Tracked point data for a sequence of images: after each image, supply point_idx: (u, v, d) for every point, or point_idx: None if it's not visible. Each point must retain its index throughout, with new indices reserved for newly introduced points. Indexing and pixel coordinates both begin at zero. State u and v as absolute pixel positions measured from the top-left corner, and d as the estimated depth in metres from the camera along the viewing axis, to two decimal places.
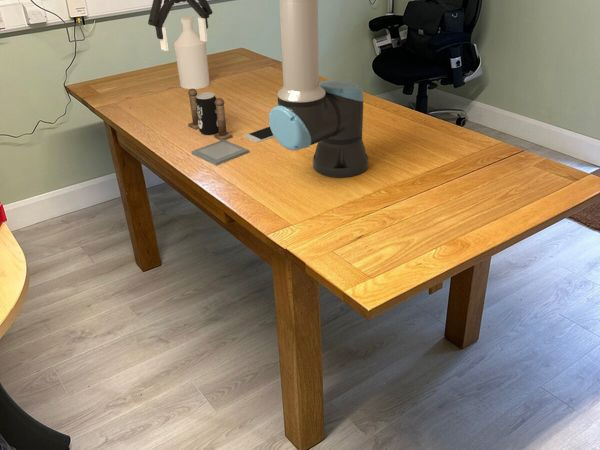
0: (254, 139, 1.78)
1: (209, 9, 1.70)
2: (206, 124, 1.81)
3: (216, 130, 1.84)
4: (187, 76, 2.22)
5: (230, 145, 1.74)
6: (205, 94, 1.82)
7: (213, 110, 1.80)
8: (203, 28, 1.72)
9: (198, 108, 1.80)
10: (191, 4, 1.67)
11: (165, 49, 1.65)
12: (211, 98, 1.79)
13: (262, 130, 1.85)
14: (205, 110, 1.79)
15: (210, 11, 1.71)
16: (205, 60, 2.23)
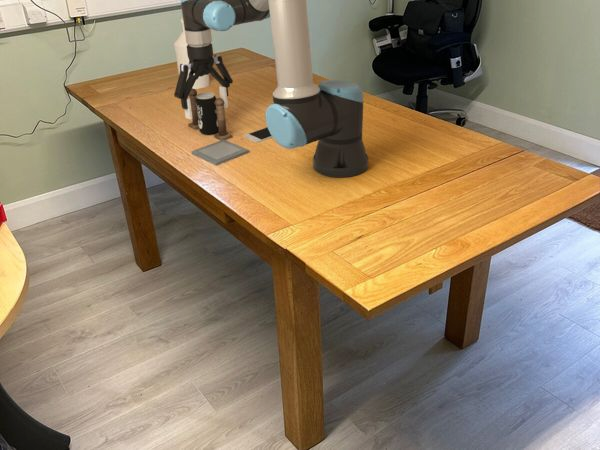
0: (254, 139, 1.78)
1: (229, 79, 1.83)
2: (206, 124, 1.81)
3: (216, 130, 1.84)
4: None
5: (230, 145, 1.74)
6: (205, 94, 1.82)
7: (213, 110, 1.80)
8: (224, 96, 1.84)
9: (198, 108, 1.80)
10: (213, 75, 1.80)
11: (189, 118, 1.78)
12: (211, 98, 1.79)
13: (262, 130, 1.84)
14: (205, 110, 1.79)
15: (230, 80, 1.84)
16: None
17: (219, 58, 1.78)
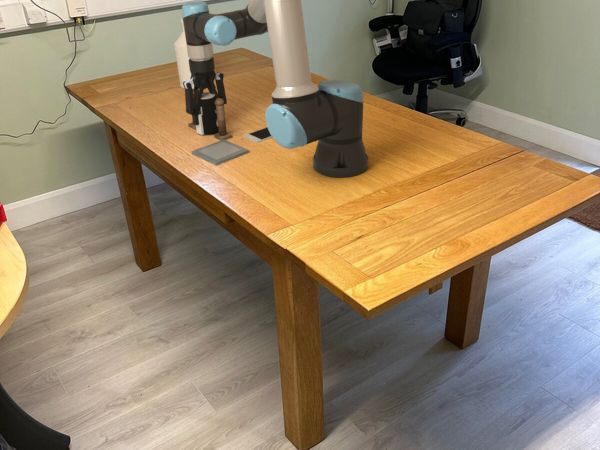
0: (254, 139, 1.78)
1: (224, 99, 1.84)
2: (206, 124, 1.81)
3: (216, 130, 1.84)
4: (187, 76, 2.22)
5: (230, 145, 1.74)
6: (205, 94, 1.82)
7: (213, 110, 1.80)
8: None
9: None
10: (211, 92, 1.81)
11: (200, 133, 1.83)
12: (211, 98, 1.79)
13: (262, 130, 1.84)
14: (205, 110, 1.79)
15: (225, 101, 1.85)
16: None
17: (221, 75, 1.80)
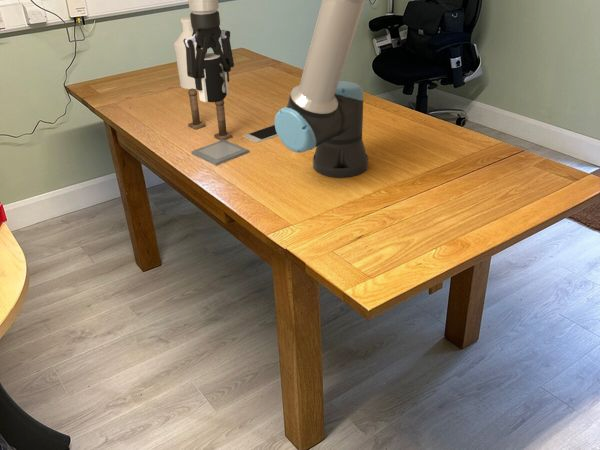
0: (254, 139, 1.78)
1: (231, 62, 1.61)
2: (210, 89, 1.58)
3: (222, 96, 1.61)
4: (187, 76, 2.22)
5: (230, 145, 1.74)
6: (209, 55, 1.59)
7: (219, 72, 1.57)
8: None
9: None
10: (216, 53, 1.58)
11: (204, 100, 1.60)
12: (216, 59, 1.56)
13: (262, 130, 1.84)
14: (210, 73, 1.56)
15: (232, 64, 1.62)
16: None
17: (227, 33, 1.57)
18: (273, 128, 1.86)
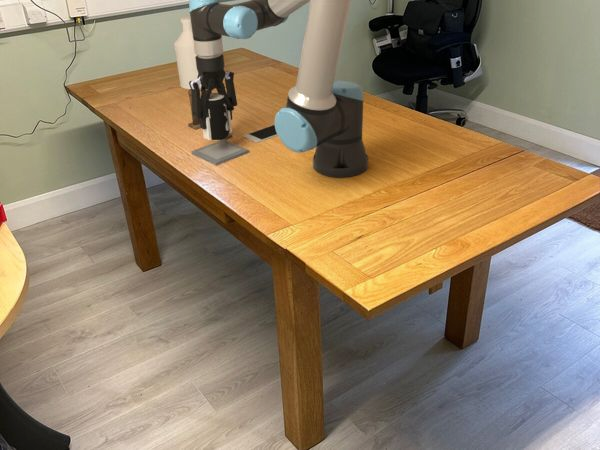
0: (254, 139, 1.78)
1: (235, 101, 1.67)
2: (214, 128, 1.64)
3: (225, 135, 1.66)
4: (187, 76, 2.22)
5: (230, 145, 1.74)
6: (213, 95, 1.64)
7: (222, 112, 1.63)
8: None
9: None
10: (220, 93, 1.64)
11: (208, 138, 1.65)
12: (220, 99, 1.61)
13: (262, 130, 1.84)
14: (214, 113, 1.62)
15: (235, 103, 1.67)
16: None
17: (231, 74, 1.63)
18: (273, 128, 1.86)
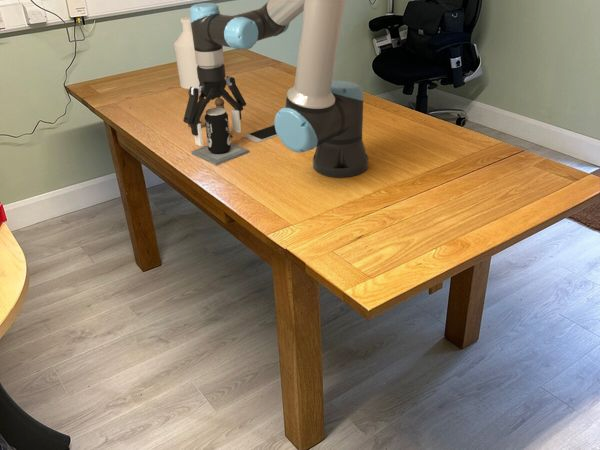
0: (254, 139, 1.78)
1: (243, 101, 1.69)
2: (215, 142, 1.66)
3: (226, 149, 1.68)
4: (187, 76, 2.22)
5: None
6: (215, 110, 1.66)
7: (224, 127, 1.65)
8: (237, 120, 1.70)
9: (207, 125, 1.64)
10: (225, 98, 1.66)
11: (200, 144, 1.64)
12: (222, 114, 1.63)
13: (262, 130, 1.84)
14: (215, 128, 1.64)
15: (244, 103, 1.70)
16: None
17: (232, 80, 1.64)
18: (273, 128, 1.86)
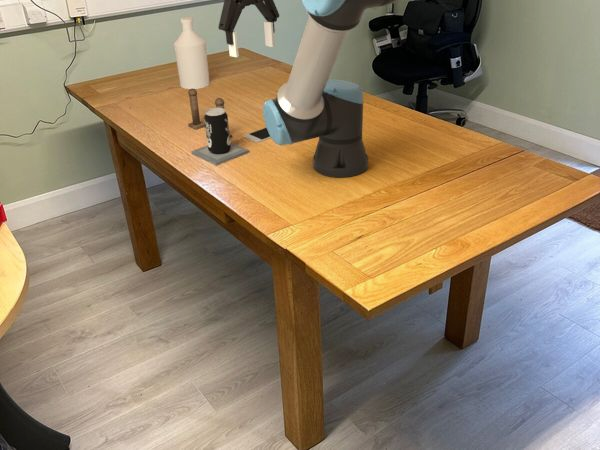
0: (254, 139, 1.78)
1: (276, 12, 1.60)
2: (215, 142, 1.66)
3: (226, 149, 1.68)
4: (187, 76, 2.22)
5: None
6: (215, 110, 1.66)
7: (224, 127, 1.65)
8: (270, 33, 1.61)
9: (207, 125, 1.64)
10: (259, 7, 1.57)
11: (235, 55, 1.54)
12: (221, 115, 1.63)
13: (262, 130, 1.84)
14: (215, 128, 1.64)
15: (277, 14, 1.61)
16: (205, 60, 2.23)
17: None
18: None
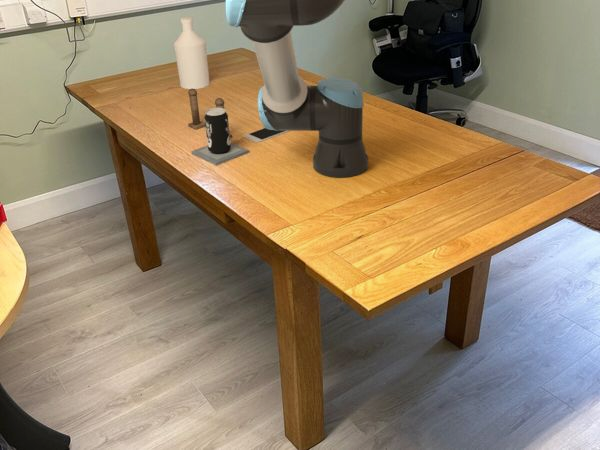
0: (254, 139, 1.78)
1: None
2: (215, 142, 1.66)
3: (226, 149, 1.68)
4: (187, 76, 2.22)
5: None
6: (215, 110, 1.66)
7: (224, 127, 1.65)
8: None
9: (207, 125, 1.64)
10: None
11: None
12: (222, 115, 1.63)
13: (262, 130, 1.84)
14: (215, 128, 1.64)
15: None
16: (205, 60, 2.23)
17: None
18: None
